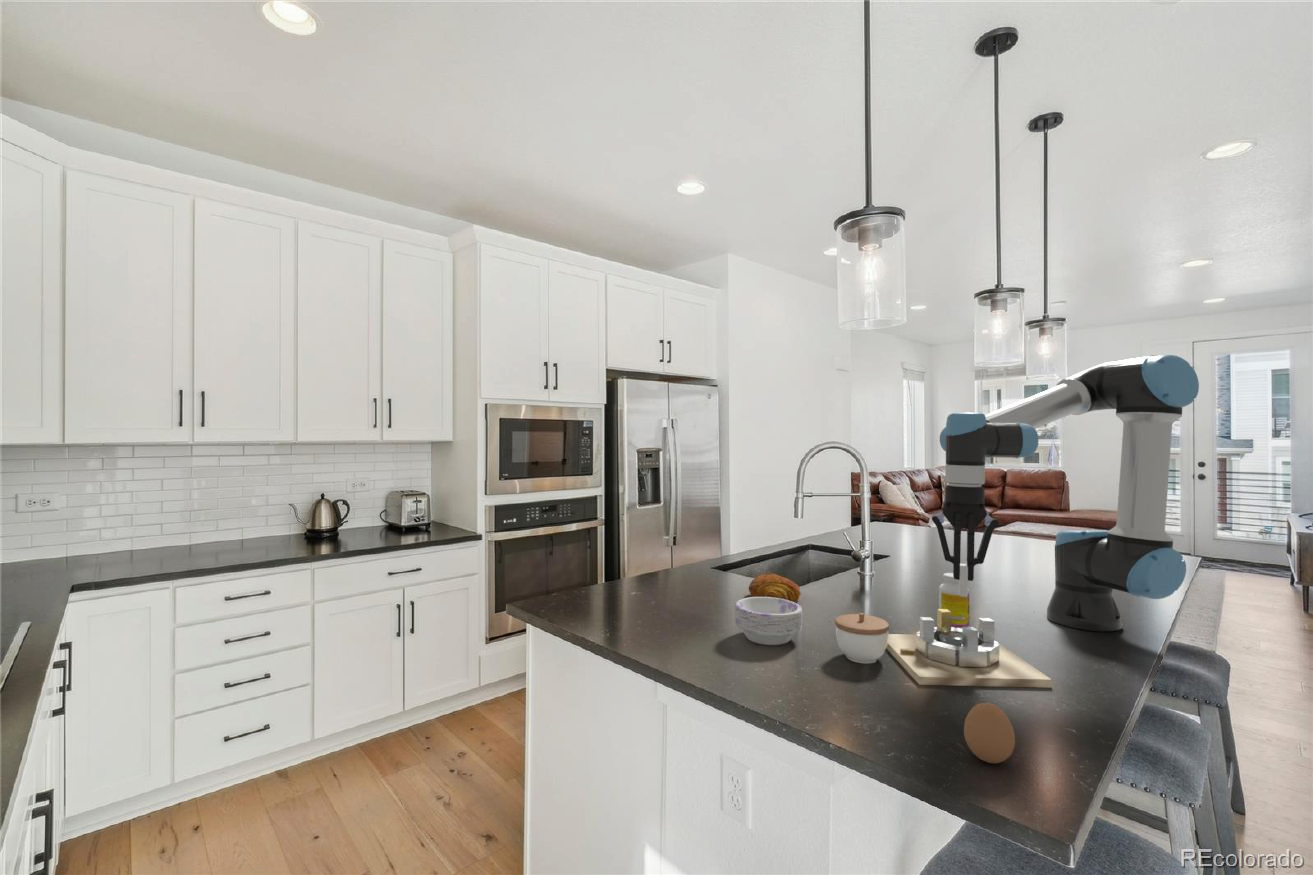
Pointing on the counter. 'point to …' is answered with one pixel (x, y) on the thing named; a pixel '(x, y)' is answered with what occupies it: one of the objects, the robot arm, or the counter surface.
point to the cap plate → (964, 668)
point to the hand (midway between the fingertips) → (963, 595)
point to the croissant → (774, 587)
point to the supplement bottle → (954, 601)
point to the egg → (989, 733)
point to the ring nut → (974, 645)
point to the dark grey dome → (951, 638)
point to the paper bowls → (768, 619)
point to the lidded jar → (862, 637)
